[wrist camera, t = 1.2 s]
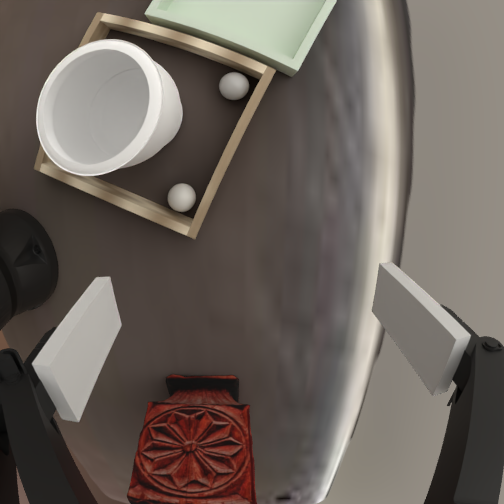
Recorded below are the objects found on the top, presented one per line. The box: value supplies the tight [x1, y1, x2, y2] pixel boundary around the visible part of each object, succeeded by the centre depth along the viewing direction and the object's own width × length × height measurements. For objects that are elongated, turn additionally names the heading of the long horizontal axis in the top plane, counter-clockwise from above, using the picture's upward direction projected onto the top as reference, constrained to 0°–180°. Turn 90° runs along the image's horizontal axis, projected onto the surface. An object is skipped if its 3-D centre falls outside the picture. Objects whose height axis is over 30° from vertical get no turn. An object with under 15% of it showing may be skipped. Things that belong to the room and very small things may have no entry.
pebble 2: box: [219, 72, 249, 100], centre depth 30 cm, size 3×3×3 cm
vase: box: [127, 374, 257, 504], centre depth 33 cm, size 14×14×30 cm
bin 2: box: [34, 12, 276, 239], centre depth 30 cm, size 22×20×4 cm
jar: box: [36, 39, 183, 176], centre depth 25 cm, size 11×10×15 cm
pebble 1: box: [168, 183, 196, 212], centre depth 34 cm, size 3×3×3 cm
